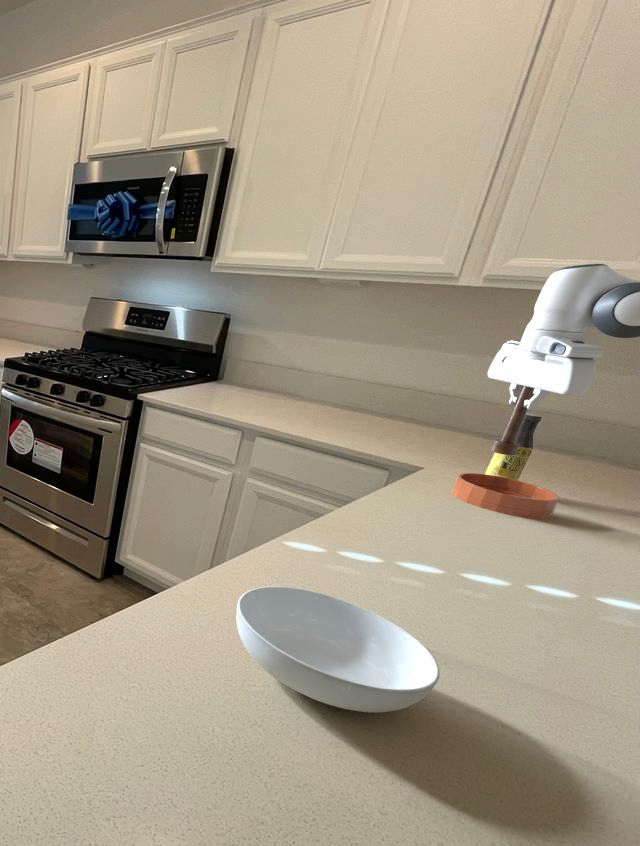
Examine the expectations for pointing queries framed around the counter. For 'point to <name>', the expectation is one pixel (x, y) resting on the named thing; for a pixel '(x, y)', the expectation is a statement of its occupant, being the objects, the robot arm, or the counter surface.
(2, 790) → the counter surface
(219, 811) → the counter surface
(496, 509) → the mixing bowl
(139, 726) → the counter surface
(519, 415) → the brown rod with base
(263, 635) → the serving bowl
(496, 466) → the sauce bottle
